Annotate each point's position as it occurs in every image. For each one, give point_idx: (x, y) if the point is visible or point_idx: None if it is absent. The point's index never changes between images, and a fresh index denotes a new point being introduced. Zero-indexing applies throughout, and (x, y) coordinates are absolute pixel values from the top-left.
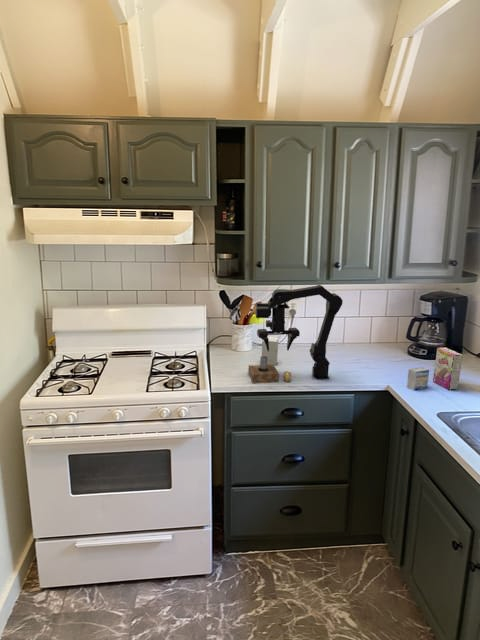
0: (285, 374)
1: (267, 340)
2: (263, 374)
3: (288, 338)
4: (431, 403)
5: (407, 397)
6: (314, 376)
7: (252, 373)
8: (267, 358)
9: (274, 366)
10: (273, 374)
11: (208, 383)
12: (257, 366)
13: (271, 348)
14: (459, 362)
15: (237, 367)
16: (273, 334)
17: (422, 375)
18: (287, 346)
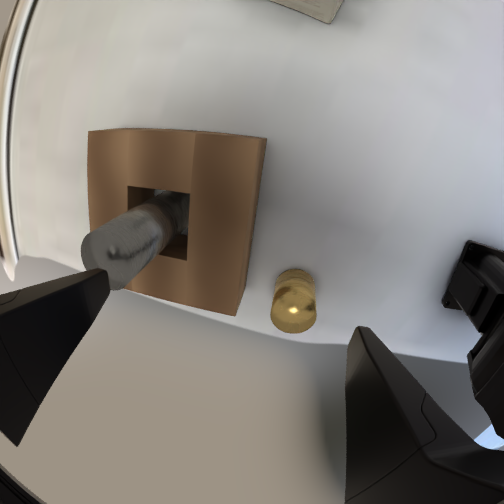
0: (274, 322)
1: (20, 421)
2: (145, 294)
3: (395, 489)
4: (494, 436)
5: None
6: (449, 290)
7: None
8: (135, 273)
9: (252, 178)
10: (201, 306)
11: (9, 219)
12: (131, 154)
13: None
14: None
15: (98, 36)
16: (23, 492)
17: None
18: (358, 378)
